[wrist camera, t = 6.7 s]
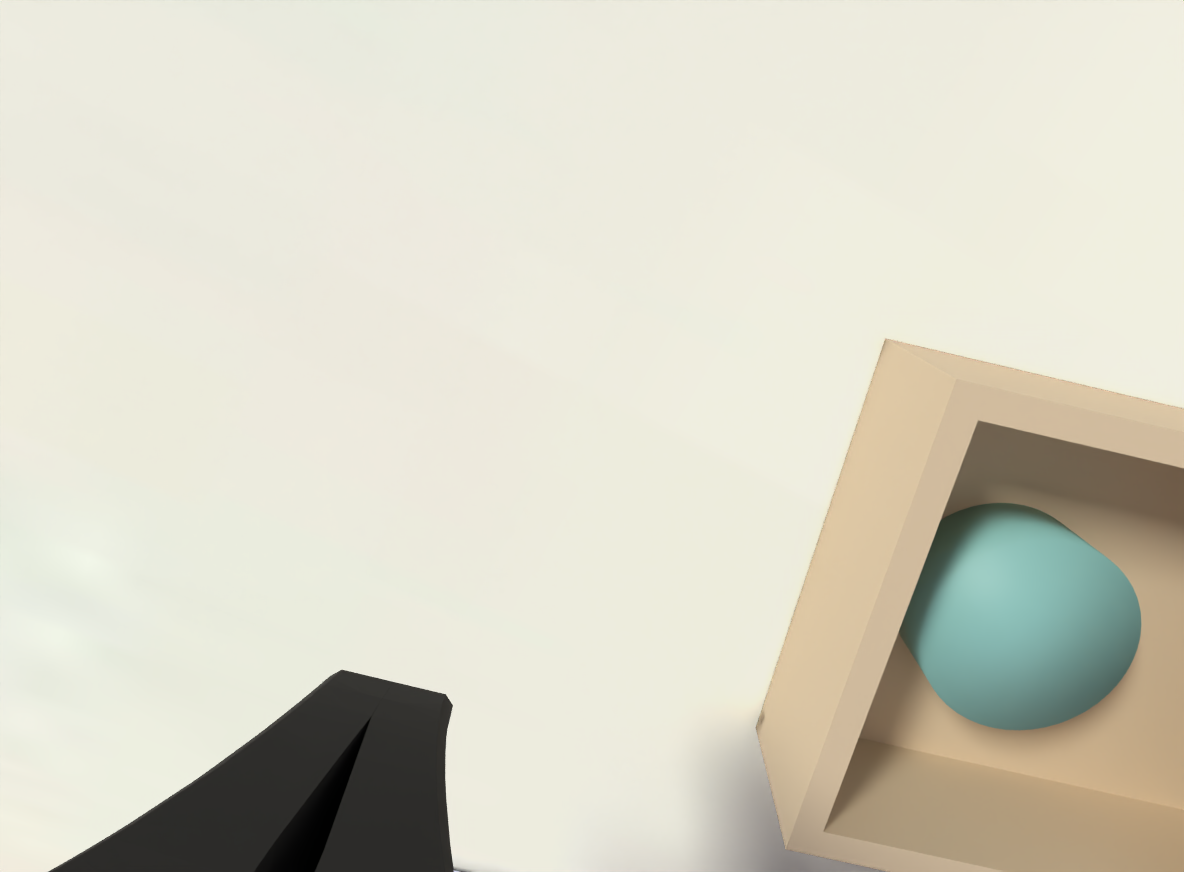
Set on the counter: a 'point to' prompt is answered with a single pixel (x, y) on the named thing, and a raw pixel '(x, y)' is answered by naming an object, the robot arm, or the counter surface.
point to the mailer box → (990, 632)
